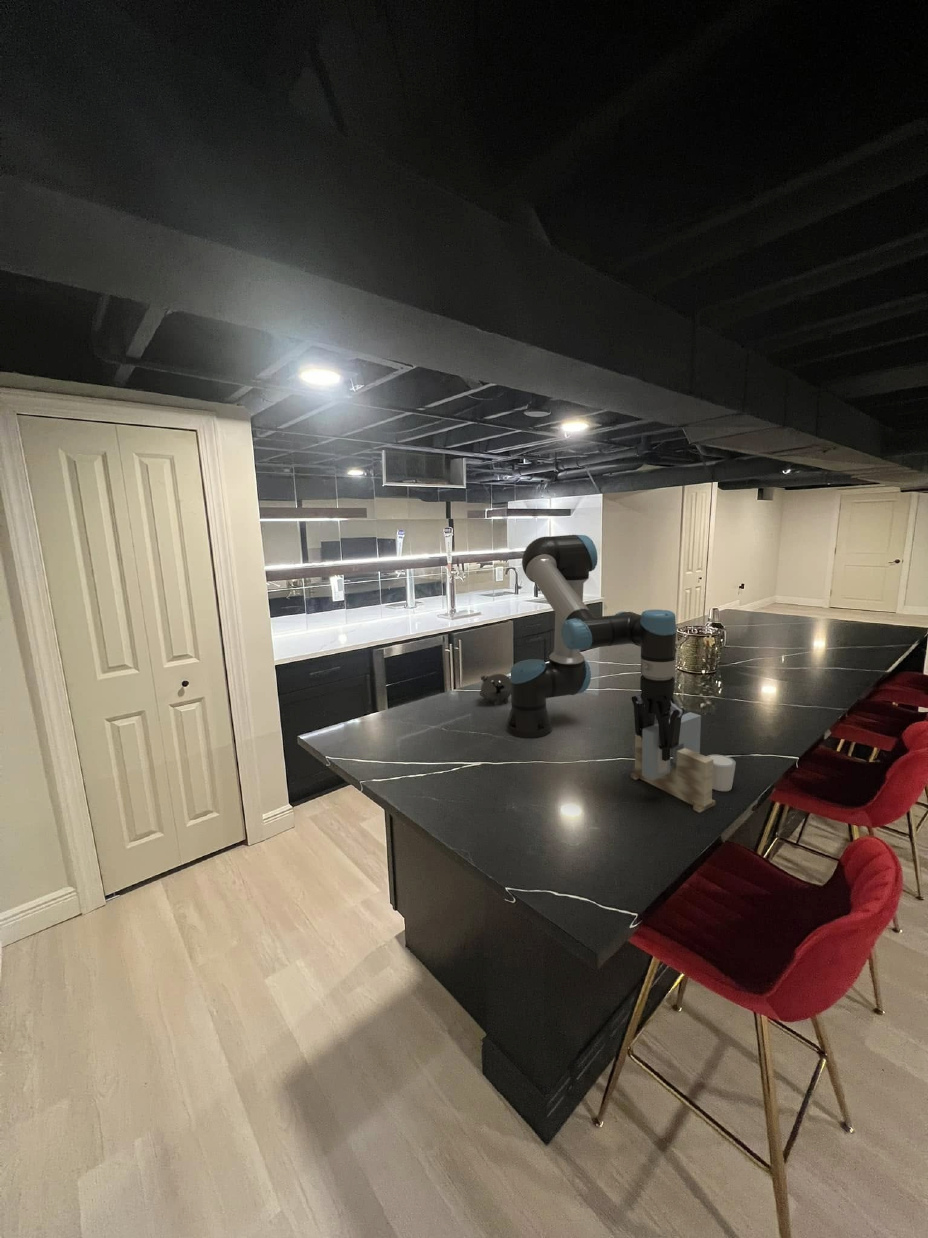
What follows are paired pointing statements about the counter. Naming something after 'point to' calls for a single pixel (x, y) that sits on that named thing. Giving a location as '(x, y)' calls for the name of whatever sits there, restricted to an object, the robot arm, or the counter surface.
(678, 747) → the slotted plate
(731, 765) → the white cylinder
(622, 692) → the counter surface
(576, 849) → the counter surface
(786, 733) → the counter surface
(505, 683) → the grey teddy bear
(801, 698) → the counter surface
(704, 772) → the slotted stand
